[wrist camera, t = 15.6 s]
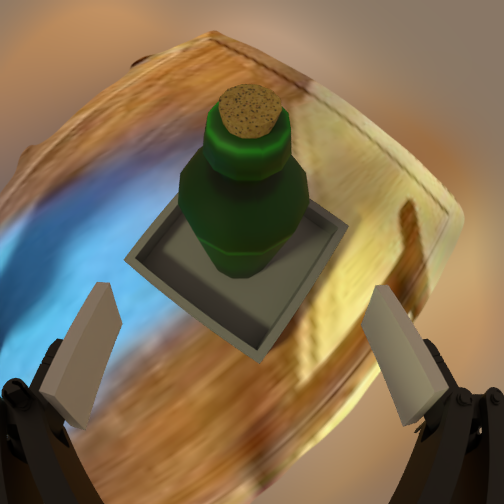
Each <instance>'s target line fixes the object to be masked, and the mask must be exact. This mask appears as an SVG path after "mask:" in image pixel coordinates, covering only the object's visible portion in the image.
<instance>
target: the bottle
mask: <svg viewBox="0 0 504 504" xmlns="http://www.w3.org/2000/svg"><path fill="white" fill-rule="evenodd" d="M291 154H292V153H291V127H290V120H289V113H288V112H287V111H286V110H285V109H284V108H283V107H282V106H281V99H280V98H279V97H278V96H277V95H276V94H275V93H274V92H273V91H272V90H270V89H268V88H265V87H262V86H260V85H254V84H241V85H238V86H235V87H232V88H230V89H227V90H226V92H225V93H224V94H223V95H222V96H221V97H220V98H219V101H218V102H217V103H216V105H215V106H214V107H213V108H212V109H211V110H210V111H209V112H208V117H207V122H206V127H205V132H204V141H203V146H202V147H201V148H200V149H198V151H197V152H196V153H195V155H194V156H193V157H192V158H191V160H190V161H189V162H188V164H187V165H186V166H185V168H184V169H183V170H182V172H181V173H180V182H179V194H178V205H179V207H180V209H181V210H182V212H183V214H184V216H185V218H186V219H187V221H188V223H189V225H190V226H191V228H192V230H193V232H194V233H195V235H196V237H197V238H198V240H199V241H200V243H201V245H202V246H203V248H204V250H205V251H206V253H207V254H208V256H209V258H210V259H211V261H212V262H213V264H214V265H215V267H216V269H217V270H218V271H219V272H221V273H223V274H224V275H226V276H228V277H230V278H232V279H245V278H250V277H252V276H253V275H255V274H257V273H258V272H260V271H262V270H263V269H264V268H265V266H266V265H267V264H268V263H269V262H270V261H271V259H272V258H273V257H274V256H275V255H276V254H277V252H278V251H279V250H280V249H281V248H282V246H283V245H284V244H285V243H286V242H287V241H288V239H289V238H290V237H291V236H292V235H293V233H294V232H295V231H296V229H297V227H298V225H299V223H300V221H301V219H302V217H303V215H304V213H305V211H306V209H307V207H308V205H309V203H310V201H309V192H308V185H307V177H306V172H305V171H304V170H303V169H302V167H301V166H300V165H299V163H298V162H297V161H296V160H295V158H294V157H293V156H292V155H291Z"/></svg>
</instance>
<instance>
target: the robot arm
mask: <svg viewBox="0 0 504 504" xmlns="http://www.w3.org/2000/svg"><path fill="white" fill-rule="evenodd" d="M121 326H122V321H121V318H120V315H119V312H118V308H117V305H116V302H115V299H114V296H113V292H112V289H111V285H110V283H105V282H97V283H96V284H95V286H94V287H93V289H92V291H91V292H90V294H89V295H88V297H87V299H86V300H85V302H84V304H83V306H82V307H81V309H80V311H79V312H78V314H77V316H76V318H75V319H74V321H73V323H72V325H71V327H70V328H69V330H68V332H67V334H66V336H65V338H64V340H63V339H58V338H57V339H56V340H55V341H54V342H53V343H52V344H51V345H50V346H49V348H48V350H47V352H46V354H45V357H44V358H43V360H42V364H40V366H39V368H38V370H37V372H36V374H35V376H34V378H33V380H32V383H31V385H30V387H29V388H28V386H27V385H26V384H25V383H24V382H23V381H22V380H21V379H19V378H13V379H10V380H9V381H7V382H6V383H5V385H4V386H3V389H2V397H3V398H1V397H0V504H104V503H103V501H102V500H101V498H100V496H99V495H98V493H97V491H96V490H95V488H94V486H93V484H92V483H91V481H90V479H89V477H88V475H87V474H86V472H85V470H84V468H83V466H82V464H81V462H80V460H79V458H78V456H77V454H76V451H75V449H74V447H73V445H72V443H71V440H70V438H69V436H68V433H67V431H66V429H65V427H64V426H63V424H64V421H65V420H66V421H67V422H68V423H69V424H70V425H71V426H73V427H76V428H79V429H83V430H86V427H87V424H88V420H89V417H90V413H91V410H92V407H93V404H94V401H95V397H96V394H97V391H98V388H99V385H100V382H101V379H102V377H103V374H104V371H105V368H106V365H107V362H108V360H109V357H110V354H111V352H112V349H113V346H114V344H115V341H116V339H117V336H118V334H119V331H120V329H121ZM361 326H362V328H363V330H364V332H365V334H366V337H367V339H368V341H369V343H370V346H371V348H372V350H373V353H374V355H375V357H376V359H377V362H378V364H379V367H380V369H381V371H382V373H383V376H384V379H385V381H386V383H387V386H388V388H389V391H390V393H391V396H392V399H393V401H394V404H395V406H396V409H397V412H398V414H399V417H400V419H401V422H402V425H403V426H406V425H410V424H413V423H416V422H417V421H418V420H419V419H421V418H422V417H423V416H424V418H425V421H424V422H423V423H422V424H421V425H420V426H419V427H418V428H417V429H416V430H415V432H414V433H417V432H418V431H419V430H420V429H421V430H420V433H419V436H418V439H417V441H416V444H415V447H414V449H413V452H412V454H411V457H410V459H409V462H408V464H407V466H406V469H405V471H404V473H403V476H402V478H401V480H400V482H399V484H398V486H397V488H396V490H395V492H394V494H393V496H392V498H391V500H390V502H389V504H504V395H503V393H502V392H501V391H500V390H499V389H498V388H495V387H491V388H489V389H488V390H487V391H486V393H485V394H472V393H471V392H470V391H469V390H467V389H466V388H462V387H458V385H457V383H456V381H455V380H454V378H453V376H452V374H451V372H450V370H449V369H448V367H447V365H446V363H445V362H444V360H443V358H442V356H440V353H439V351H438V349H437V348H436V346H435V345H434V344H433V343H432V342H431V341H430V340H428V339H423V340H422V338H421V337H420V335H419V333H418V331H417V330H416V328H415V326H414V325H413V323H412V321H411V320H410V318H409V317H408V315H407V313H406V312H405V310H404V309H403V307H402V306H401V304H400V302H399V301H398V299H397V298H396V296H395V295H394V293H393V292H392V290H391V289H390V287H389V286H388V285H375V288H374V291H373V294H372V297H371V300H370V303H369V305H368V308H367V311H366V313H365V316H364V319H363V321H362V324H361ZM481 427H482V433H481V434H480V432H479V429H480V428H481Z"/></svg>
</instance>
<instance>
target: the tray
mask: <svg viewBox="0 0 504 504" xmlns="http://www.w3.org/2000/svg"><path fill="white" fill-rule="evenodd" d="M178 194H179V192H178V193H177V194H176V196H175V197H174V198H173V199H172V200H171V201H170V203H169V204H168V205H167V206H166V207H165V208H164V210H163V211H162V212H161V213H160V214H159V216H158V217H157V218H156V219H155V220H154V222H153V223H152V224H151V225H150V227H149V228H148V229H147V230H146V232H145V233H144V234H143V235H142V237H141V238H140V239H139V240H138V242H137V243H136V244H135V246H134V247H133V248H132V249H131V251H130V252H129V253H128V255H127V256H126V257H125V259H124V261H125V262H126V263H128V264H129V265H130V266H131V267H132V268H133V269H135V270H136V271H137V272H138V273H139V274H140V275H142V276H143V277H144V278H145V279H146V280H147V281H149V282H150V283H151V284H152V285H154V286H155V287H156V288H157V289H158V290H160V291H161V292H162V293H163V294H165V295H166V296H167V297H168V298H170V299H171V300H172V301H173V302H175V303H176V304H177V305H178V306H180V307H181V308H182V309H184V310H185V311H186V312H187V313H189V314H190V315H191V316H193V317H194V318H195V319H197V320H198V321H199V322H201V323H202V324H203V325H205V326H206V327H207V328H209V329H210V330H212V331H213V332H214V333H216V334H217V335H219V336H220V337H221V338H223V339H224V340H226V341H227V342H228V343H230V344H231V345H233V346H234V347H236V348H237V349H238V350H240V351H241V352H243V353H244V354H246V355H247V356H249V357H250V358H252V359H253V360H255V361H256V362H258V363H259V364H260V363H261V361H262V360H263V358H264V357H265V356H266V354H267V353H268V351H269V350H270V349H271V347H272V346H273V344H274V343H275V342H276V340H277V339H278V337H279V336H280V334H281V333H282V332H283V330H284V329H285V327H286V326H287V324H288V323H289V321H290V320H291V318H292V317H293V315H294V314H295V312H296V311H297V309H298V308H299V306H300V305H301V303H302V302H303V300H304V299H305V297H306V296H307V294H308V292H309V291H310V289H311V288H312V286H313V285H314V283H315V282H316V280H317V278H318V277H319V275H320V274H321V272H322V270H323V269H324V267H325V266H326V264H327V262H328V261H329V259H330V257H331V256H332V254H333V252H334V251H335V249H336V247H337V246H338V244H339V242H340V241H341V239H342V237H343V235H344V234H345V232H346V230H347V229H348V227H349V226H348V225H347V224H345V223H344V222H343V221H341V220H340V219H338V218H337V217H336V216H334V215H333V214H331V213H330V212H328V211H327V210H326V209H324V208H323V207H321V206H320V205H318V204H317V203H315V202H314V201H312V200H311V199H310V198H309V201H310V203H309V205H308V207H307V209H306V211H305V213H304V215H303V217H302V219H301V221H300V223H299V225H298V227H297V229H296V231H295V232H294V233H293V235H292V236H291V237H290V238H289V239H288V241H287V242H286V243H285V244H284V245H283V246H282V248H281V249H280V250H279V251H278V252H277V254H276V255H275V256H274V257H273V258H272V259H271V261H270V262H269V263H268V264H267V265H266V266H265V268H264V269H263V270H262V271H260V272H258V273H257V274H255V275H253V276H252V277H250V278H245V279H232V278H230V277H228V276H226V275H224V274H223V273H221V272H219V271H218V270H217V269H216V267H215V265H214V264H213V262H212V261H211V259H210V258H209V256H208V254H207V253H206V251H205V250H204V248H203V246H202V245H201V243H200V241H199V240H198V238H197V237H196V235H195V233H194V232H193V230H192V228H191V226H190V225H189V223H188V221H187V219H186V218H185V216H184V214H183V212H182V210H181V209H180V207H179V205H178Z"/></svg>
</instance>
